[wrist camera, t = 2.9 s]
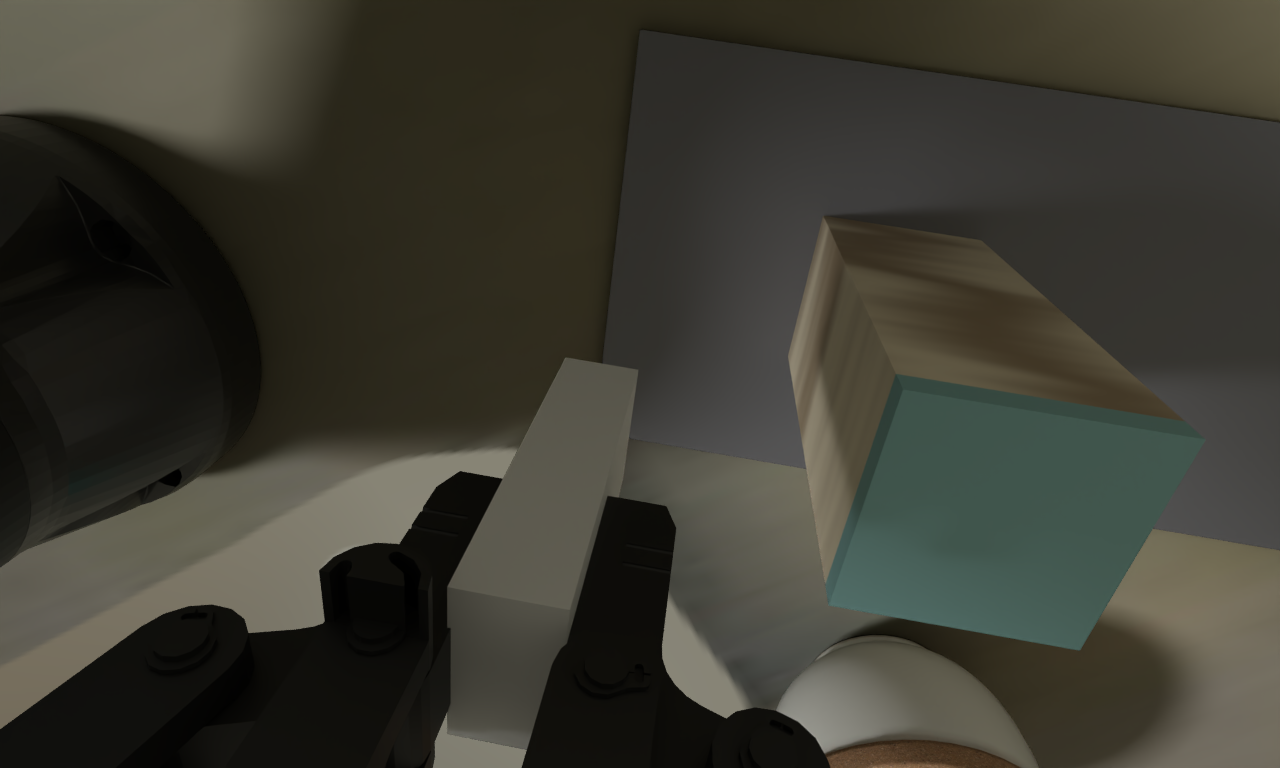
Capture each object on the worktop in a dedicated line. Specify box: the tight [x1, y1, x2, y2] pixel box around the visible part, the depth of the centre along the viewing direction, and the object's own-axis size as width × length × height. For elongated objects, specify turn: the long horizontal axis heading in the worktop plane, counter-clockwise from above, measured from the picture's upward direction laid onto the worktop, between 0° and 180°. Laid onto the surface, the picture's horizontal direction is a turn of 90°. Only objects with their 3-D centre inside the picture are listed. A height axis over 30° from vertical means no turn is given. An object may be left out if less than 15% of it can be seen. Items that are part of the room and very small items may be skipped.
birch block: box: [788, 216, 1206, 651], centre depth 18 cm, size 5×5×12 cm
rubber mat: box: [602, 30, 1280, 550], centre depth 24 cm, size 28×14×1 cm, turn 83°
